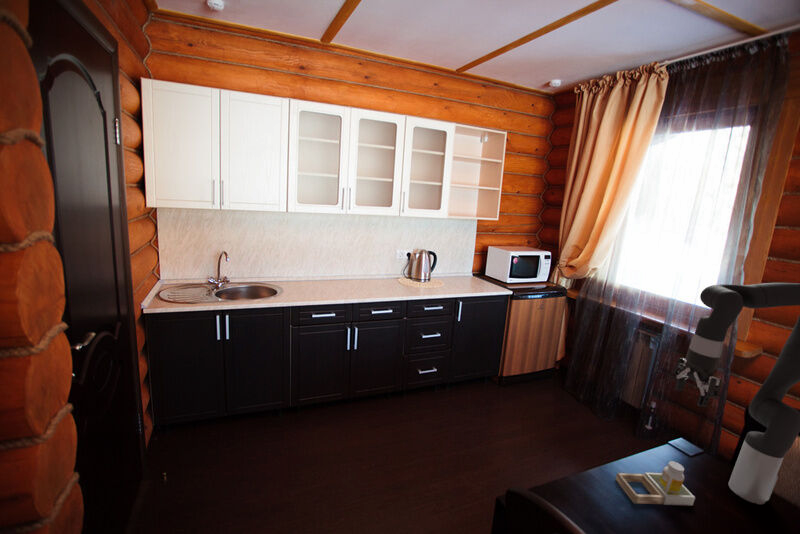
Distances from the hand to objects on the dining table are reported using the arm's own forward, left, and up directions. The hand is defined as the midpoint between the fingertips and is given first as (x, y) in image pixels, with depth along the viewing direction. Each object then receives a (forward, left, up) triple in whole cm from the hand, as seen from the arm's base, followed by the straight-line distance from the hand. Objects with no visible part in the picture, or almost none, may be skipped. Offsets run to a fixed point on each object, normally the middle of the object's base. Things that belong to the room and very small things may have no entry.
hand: (689, 397), depth 118 cm
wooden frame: (+13, +6, -30) cm, 33 cm away
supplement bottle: (+4, +6, -30) cm, 31 cm away
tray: (+4, +6, -30) cm, 31 cm away
